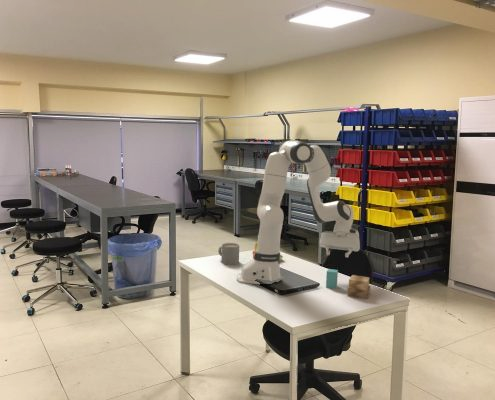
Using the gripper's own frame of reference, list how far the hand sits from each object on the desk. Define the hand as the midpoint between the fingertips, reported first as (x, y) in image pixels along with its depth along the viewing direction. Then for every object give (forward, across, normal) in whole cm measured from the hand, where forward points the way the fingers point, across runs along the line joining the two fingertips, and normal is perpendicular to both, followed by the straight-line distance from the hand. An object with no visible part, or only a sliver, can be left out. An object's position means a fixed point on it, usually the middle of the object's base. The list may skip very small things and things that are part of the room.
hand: (337, 255), depth 230 cm
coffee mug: (+4, -63, +14) cm, 65 cm away
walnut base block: (+21, +14, -2) cm, 25 cm away
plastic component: (-9, -46, +28) cm, 54 cm away
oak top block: (+18, +14, -5) cm, 23 cm away
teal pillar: (+17, 0, +2) cm, 17 cm away
